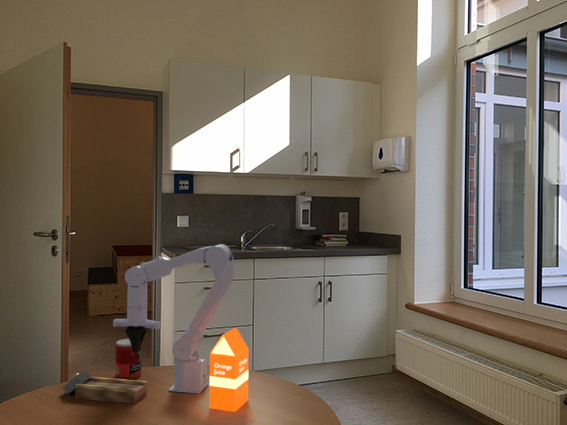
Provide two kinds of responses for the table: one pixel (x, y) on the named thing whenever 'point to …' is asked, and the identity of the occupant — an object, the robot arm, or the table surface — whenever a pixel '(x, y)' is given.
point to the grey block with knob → (76, 381)
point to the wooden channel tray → (111, 390)
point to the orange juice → (229, 372)
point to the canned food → (127, 360)
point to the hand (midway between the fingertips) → (136, 351)
